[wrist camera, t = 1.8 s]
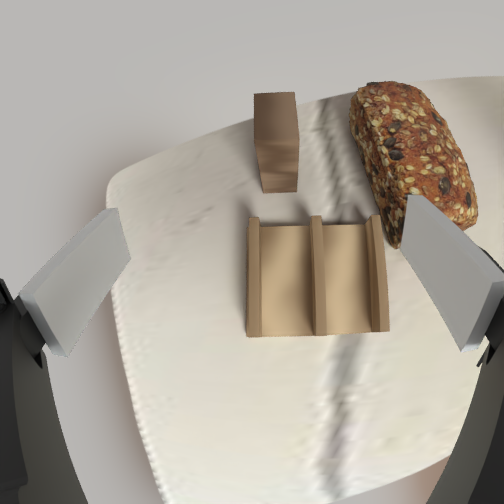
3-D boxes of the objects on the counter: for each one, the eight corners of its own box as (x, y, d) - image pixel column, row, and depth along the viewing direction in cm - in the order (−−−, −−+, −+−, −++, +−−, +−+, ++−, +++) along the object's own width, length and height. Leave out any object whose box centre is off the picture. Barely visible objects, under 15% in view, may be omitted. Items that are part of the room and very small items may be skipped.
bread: (343, 125, 38) (354, 74, 28) (408, 121, 37) (429, 75, 28) (386, 255, 33) (419, 228, 23) (456, 240, 32) (498, 212, 23)
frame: (293, 150, 37) (294, 92, 27) (296, 192, 36) (299, 138, 25) (261, 151, 38) (252, 93, 27) (262, 193, 36) (253, 140, 26)
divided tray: (375, 227, 34) (385, 214, 30) (382, 331, 31) (395, 330, 27) (247, 230, 35) (243, 217, 31) (247, 336, 32) (242, 337, 28)
